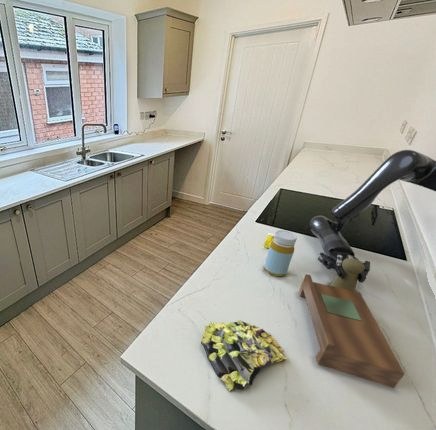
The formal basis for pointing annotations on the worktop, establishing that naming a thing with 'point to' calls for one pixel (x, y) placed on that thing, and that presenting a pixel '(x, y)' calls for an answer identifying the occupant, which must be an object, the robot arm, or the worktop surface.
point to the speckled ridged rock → (239, 351)
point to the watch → (269, 240)
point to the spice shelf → (349, 334)
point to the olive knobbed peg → (349, 274)
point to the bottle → (280, 253)
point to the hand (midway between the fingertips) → (352, 278)
